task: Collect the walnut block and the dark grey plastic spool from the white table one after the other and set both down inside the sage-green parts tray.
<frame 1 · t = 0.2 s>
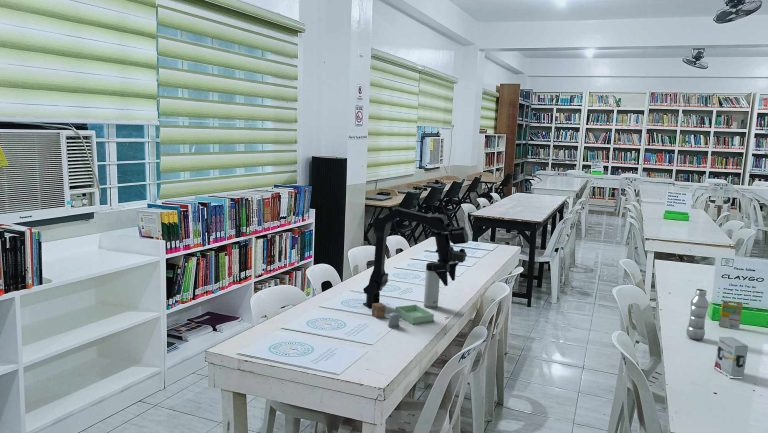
hand: (449, 283, 236), 15 cm above the table, tool pointing down, fingers open, 9 cm apart
travel mug: (431, 306, 254), on the table
walnut block: (378, 316, 238), on the table
crayon box: (728, 327, 245), on the table
parts tray: (413, 317, 238), on the table
plastic bottle: (694, 339, 229), on the table
grey spool: (393, 326, 227), on the table
ink box: (728, 374, 197), on the table
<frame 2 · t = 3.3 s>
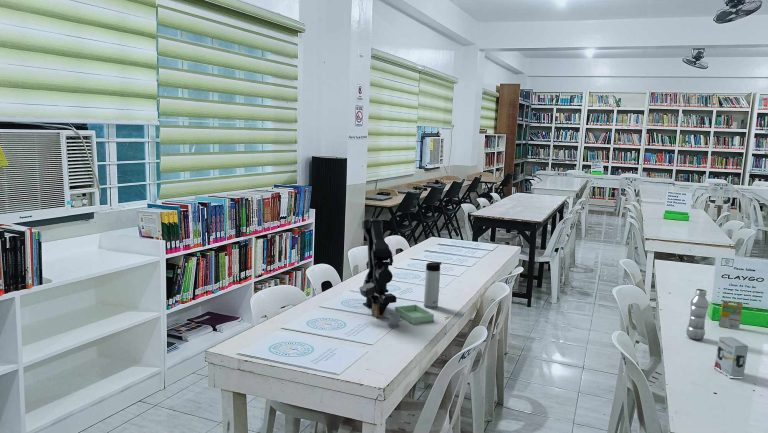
hand: (378, 313, 238), 1 cm above the table, tool pointing down, fingers closed on walnut block, 4 cm apart
walnut block: (378, 316, 238), on the table, touching gripper
everything else where it was.
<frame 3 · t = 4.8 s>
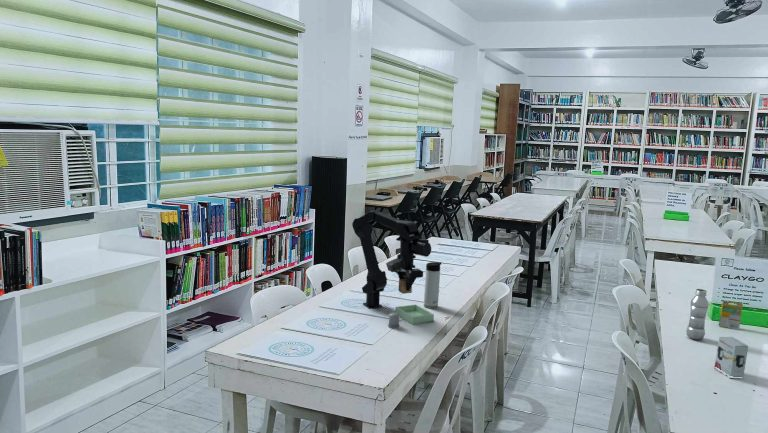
hand: (405, 289, 238), 11 cm above the table, tool pointing down, fingers closed on walnut block, 4 cm apart
walnut block: (405, 291, 238), point 10 cm above the table, touching gripper
everything else where it was.
when the fingers open (3 cm above the table, at t = 6.7 s): walnut block drops 2 cm, resting on parts tray.
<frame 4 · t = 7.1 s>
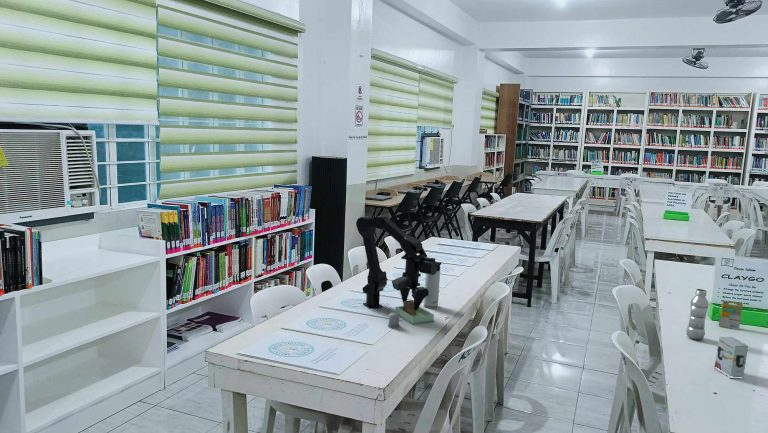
hand: (410, 306, 241), 3 cm above the table, tool pointing down, fingers open, 9 cm apart
walnut block: (409, 313, 241), point 1 cm above the table, touching parts tray
everything else where it was.
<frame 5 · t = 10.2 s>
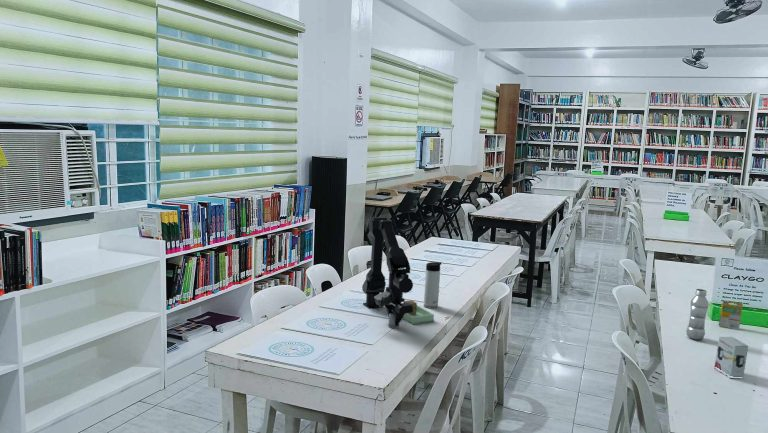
hand: (393, 323, 227), 1 cm above the table, tool pointing down, fingers closed on grey spool, 4 cm apart
grey spool: (393, 326, 227), on the table, touching gripper
everything else where it was.
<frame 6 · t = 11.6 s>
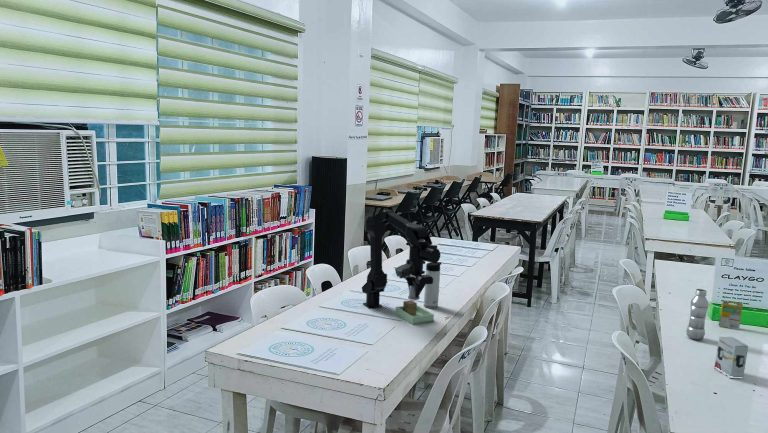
hand: (414, 295, 231), 11 cm above the table, tool pointing down, fingers closed on grey spool, 4 cm apart
grey spool: (413, 298, 231), point 10 cm above the table, touching gripper
everything else where it was.
when the fingers open (3 cm above the table, at t = 13.5 s): grey spool drops 2 cm, resting on parts tray.
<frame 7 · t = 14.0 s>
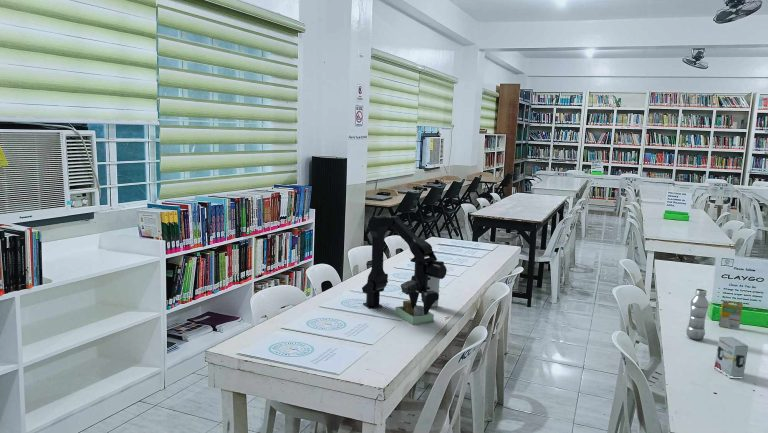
hand: (419, 311, 234), 4 cm above the table, tool pointing down, fingers open, 9 cm apart
walnut block: (409, 313, 241), point 1 cm above the table, touching gripper, parts tray
grey spool: (418, 318, 235), point 1 cm above the table, touching parts tray
everything else where it was.
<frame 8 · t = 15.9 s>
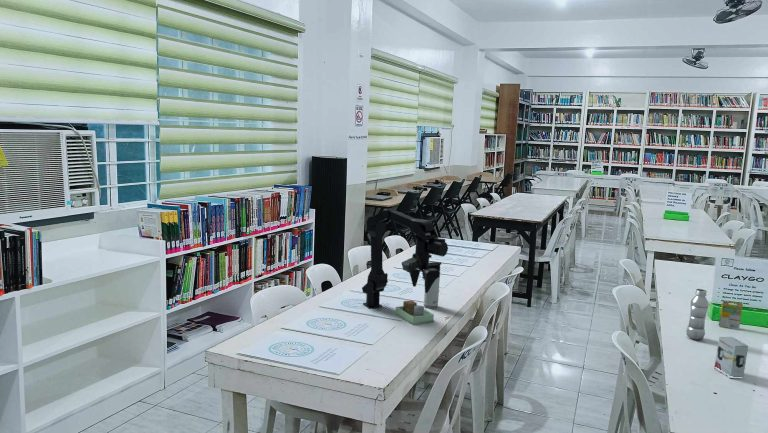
hand: (420, 289, 233), 13 cm above the table, tool pointing down, fingers open, 9 cm apart
walnut block: (409, 313, 241), point 1 cm above the table, touching parts tray
everything else where it was.
at the end: walnut block inside the target area on the parts tray (3.6 cm from its centre), point 0.6 cm above the parts tray's base; grey spool inside the target area on the parts tray (3.5 cm from its centre), point 0.6 cm above the parts tray's base; the gripper is holding nothing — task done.
